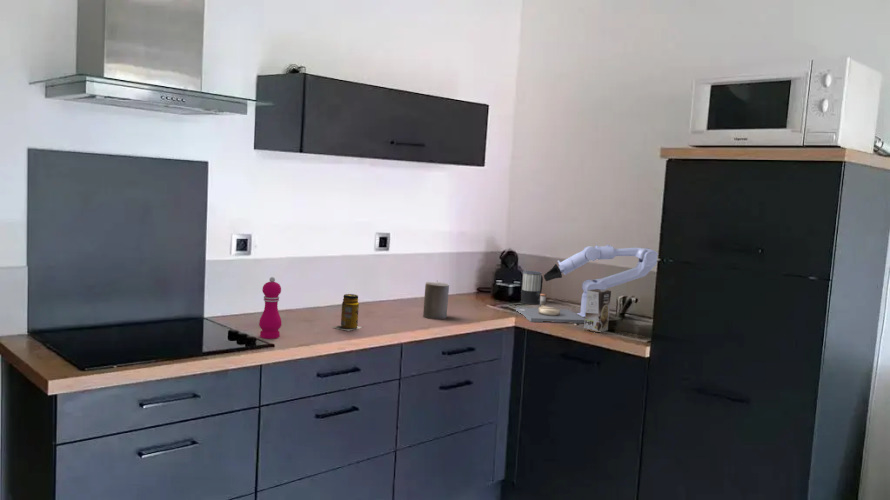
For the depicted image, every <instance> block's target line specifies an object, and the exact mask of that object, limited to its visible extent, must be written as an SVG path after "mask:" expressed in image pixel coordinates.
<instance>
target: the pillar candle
mask: <svg viewBox="0 0 890 500" xmlns="http://www.w3.org/2000/svg"><path fill="white" fill-rule="evenodd" d="M449 290H450V284H449V283H445V282H441V281H438V280H436V281H427V282H425V285H424V297H423V298H424V299H423V313H422V317H424V318H427V319H432V320H445V319H447V316H448V304H449V303H448V302H449V292H450V291H449Z"/></svg>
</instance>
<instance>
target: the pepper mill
mask: <svg viewBox="0 0 890 500" xmlns="http://www.w3.org/2000/svg"><path fill="white" fill-rule="evenodd" d="M261 289H262V293H263V295H264V296H263V301H264V309H263V312H262V313H261V316H260V319H259V322H258V323H259V324H258V327H259V328H260V329H261V330H260V334H259V336H260V338H261V339H264V340H272V339H278V338H280V337H281V333H280V331H279V330H280V328H281V327H282V317H281V315H280V312H279V308H278V306H279V305H278V304H279V301H280V296H279V295H280V294H281V292H282V287H281V285H280V283H278V282H276V279H275V277H274V276H272V277H270V278H269V281H268V282H265V283H264V284H263V286H262V288H261Z"/></svg>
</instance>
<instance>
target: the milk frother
mask: <svg viewBox="0 0 890 500" xmlns="http://www.w3.org/2000/svg"><path fill="white" fill-rule="evenodd" d="M522 273H523V276H522V288H521V292H522V295H521V296H520V297H521V300H520V303H521V304H525V305H540V294H542V289H543V282H544V276H543V275H542V274H543V272H542V271H536V270H535V271H534V270H524V271H522Z"/></svg>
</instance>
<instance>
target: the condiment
mask: <svg viewBox="0 0 890 500" xmlns="http://www.w3.org/2000/svg"><path fill="white" fill-rule="evenodd" d="M359 304H360V303H359V295H358V294H353V293H346V294H344V295H343V299H342V303H341V314H340V318H341V319H340V325H337V326H332V328H334V329H338V330H343V331H347V332H350V331H352V330H353V331H354V330H358V329H362V328H363V327H362V326H358V324H359V323H358V322H359V306H360V305H359Z"/></svg>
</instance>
